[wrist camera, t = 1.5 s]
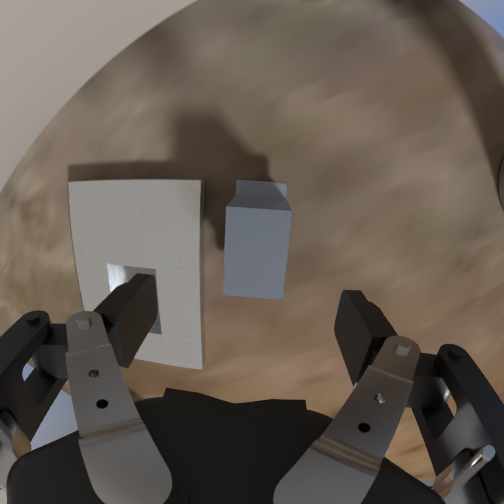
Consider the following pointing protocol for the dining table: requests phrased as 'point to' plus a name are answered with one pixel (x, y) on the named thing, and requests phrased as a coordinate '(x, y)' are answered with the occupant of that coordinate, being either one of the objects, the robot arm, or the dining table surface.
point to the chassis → (146, 255)
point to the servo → (257, 240)
